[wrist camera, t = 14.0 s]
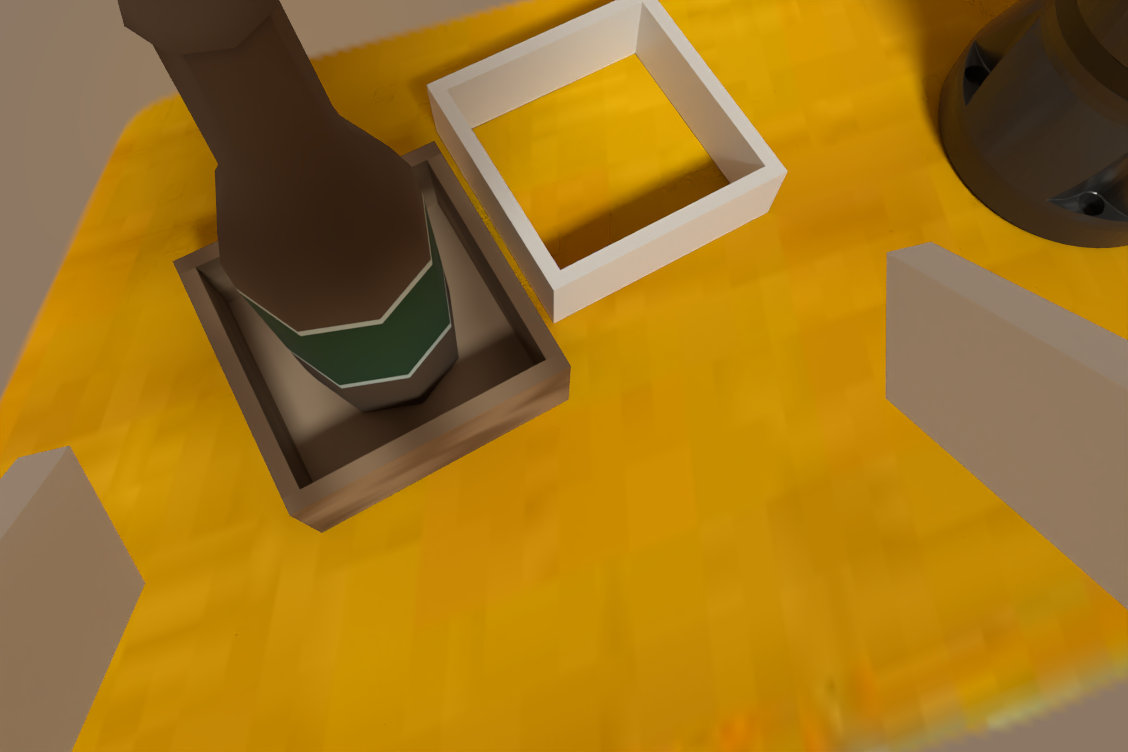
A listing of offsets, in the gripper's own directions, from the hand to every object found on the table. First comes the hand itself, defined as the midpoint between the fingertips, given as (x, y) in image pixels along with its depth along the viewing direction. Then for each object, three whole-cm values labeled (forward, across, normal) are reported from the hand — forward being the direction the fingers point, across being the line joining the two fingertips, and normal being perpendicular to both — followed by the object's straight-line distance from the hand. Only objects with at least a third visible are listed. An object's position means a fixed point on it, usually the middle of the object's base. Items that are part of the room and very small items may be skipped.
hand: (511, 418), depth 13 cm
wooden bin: (+28, -5, -10) cm, 30 cm away
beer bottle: (+27, -5, -10) cm, 29 cm away
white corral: (+34, +8, -5) cm, 35 cm away
